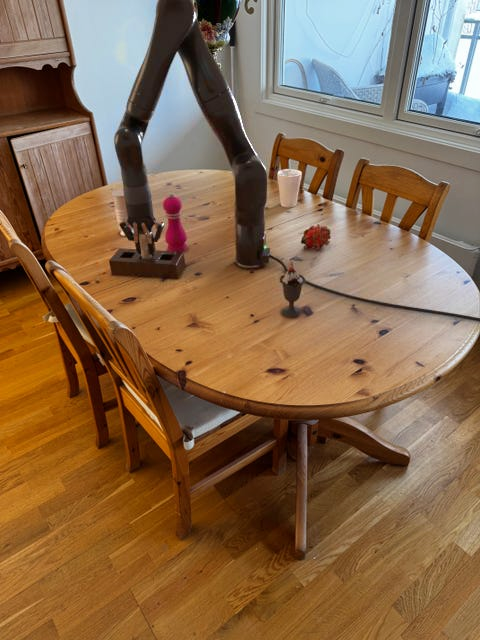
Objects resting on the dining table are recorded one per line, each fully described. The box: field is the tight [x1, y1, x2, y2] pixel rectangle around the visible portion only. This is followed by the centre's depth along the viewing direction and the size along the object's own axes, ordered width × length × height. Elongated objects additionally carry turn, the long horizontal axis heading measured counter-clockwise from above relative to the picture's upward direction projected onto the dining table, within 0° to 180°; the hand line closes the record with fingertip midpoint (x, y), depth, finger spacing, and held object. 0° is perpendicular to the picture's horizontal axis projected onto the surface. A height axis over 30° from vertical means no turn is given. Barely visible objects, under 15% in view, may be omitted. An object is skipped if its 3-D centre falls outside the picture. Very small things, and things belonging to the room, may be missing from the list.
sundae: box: [279, 258, 307, 318], centre depth 120 cm, size 7×7×15 cm
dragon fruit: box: [300, 223, 332, 251], centre depth 154 cm, size 8×8×12 cm
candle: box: [111, 188, 134, 237], centre depth 166 cm, size 7×7×15 cm
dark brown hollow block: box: [108, 247, 186, 280], centre depth 145 cm, size 21×9×5 cm, turn 81°
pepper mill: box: [162, 192, 188, 253], centre depth 152 cm, size 7×7×20 cm
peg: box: [138, 230, 152, 259], centre depth 141 cm, size 3×3×11 cm
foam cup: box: [277, 168, 303, 208], centre depth 186 cm, size 10×9×13 cm
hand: (146, 252), depth 143 cm, fingers closed on peg, 3 cm apart
